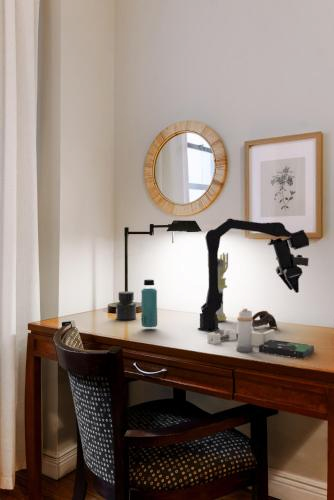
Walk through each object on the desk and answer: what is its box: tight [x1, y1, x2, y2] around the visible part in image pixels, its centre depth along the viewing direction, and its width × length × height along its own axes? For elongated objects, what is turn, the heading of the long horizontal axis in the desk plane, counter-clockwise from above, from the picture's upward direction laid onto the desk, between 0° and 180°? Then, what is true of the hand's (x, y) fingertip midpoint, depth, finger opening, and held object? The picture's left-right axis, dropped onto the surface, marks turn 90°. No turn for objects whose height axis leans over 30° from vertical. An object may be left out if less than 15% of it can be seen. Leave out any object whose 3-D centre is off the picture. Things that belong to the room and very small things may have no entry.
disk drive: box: [258, 339, 315, 360], centre depth 140 cm, size 10×3×15 cm
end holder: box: [252, 327, 275, 347], centre depth 153 cm, size 9×9×4 cm
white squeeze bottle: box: [236, 308, 254, 354], centre depth 142 cm, size 5×5×14 cm
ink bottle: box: [115, 291, 137, 321], centre depth 198 cm, size 10×9×12 cm
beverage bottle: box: [140, 279, 158, 328], centre depth 175 cm, size 6×7×20 cm
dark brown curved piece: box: [252, 310, 278, 330], centre depth 177 cm, size 12×10×8 cm
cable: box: [212, 332, 238, 342], centre depth 158 cm, size 5×20×1 cm, turn 112°
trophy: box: [216, 252, 229, 322], centre depth 193 cm, size 8×8×30 cm
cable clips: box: [207, 328, 237, 345], centre depth 158 cm, size 4×21×3 cm, turn 125°
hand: (294, 291), depth 173 cm, fingers open, 9 cm apart
